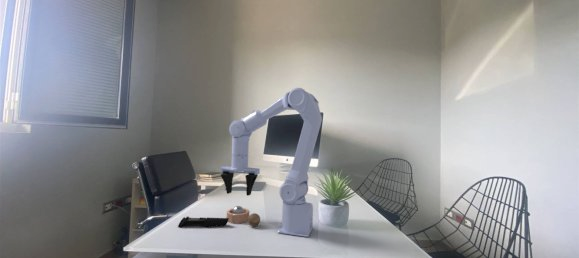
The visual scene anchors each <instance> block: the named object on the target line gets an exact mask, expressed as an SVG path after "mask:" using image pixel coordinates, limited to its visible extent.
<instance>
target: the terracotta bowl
mask: <svg viewBox="0 0 579 258" xmlns="http://www.w3.org/2000/svg"><path fill="white" fill-rule="evenodd" d="M242 208H243V209H244V213H242V214H232V211H233V209H234V208H230V209H228V210H226V217H225V218H229V220H228V222H227V223H230V224H242V223H246V222H248V218H249V216H250V212H251V211H250V210H249V208H244V207H242Z"/></svg>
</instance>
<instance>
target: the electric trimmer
mask: <svg viewBox="0 0 579 258" xmlns="http://www.w3.org/2000/svg"><path fill="white" fill-rule="evenodd" d="M228 220H229V218H226V217H190V216H184V217H182V219H181V220H180V222H179V223H178V225H177V228H180V229H181V228H183V227H188V228H189V227H204V228H214V227H226V225H227V224H228V223H229V222H228Z"/></svg>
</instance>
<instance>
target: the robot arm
mask: <svg viewBox="0 0 579 258" xmlns="http://www.w3.org/2000/svg"><path fill="white" fill-rule="evenodd" d="M319 103H320V102H319V101H318V100H317V98H316V97H315V96H314V94H312V93H309V92H307V91H306V90H305V89H304V88H302V87H295V88H293V89H291V90H290V91H287V92H286V93H285V94H284V95H282V97H280V98H279V99H278V100H276V101H275V102H273V103H272V104H270V105H269V106H267V107H266V108H264V109H262V110H252V111H251V113H250V114H249V115H247V116H245V117H242V118H241V119H240V120H233V121H232V122H231V123H230V125H229V128H228V131H229V134H230V136H231V137H232V139H231V142H232V143H231V166H220V168H219V173H221V174H220V177H221V179H222V181H223V184H224V186H225V191H226V194H227V195H229V194H231V193H232V190H233V180H234V175H235V174H244V176H245V184H246V188H245V189H246V193H245V194H246V196H248V197H249V196H251V195H252V191H253V187H254V185H255V182H256V179H257V178H258V176H259V175H260V171H261V169H260V168H257V167H256V168H255V167H249V144H250V143H249V142H250V137H251V136H252V134H253V132H256V131H257V130H259V129H260V128H262V127H264V126H265V125H267V122H268V120H269V119H271V118H273V117H275V116H278V115H279V114H281V113H282V112H283V113H284V112H285V111H289V110H290V111H292V110H293V111H296V112H298V114H299V115H300V117H301V119H302V120H303V125H302V128H301V132H300V136H299V140H298V143H297V146H296V150H295V155H294V156H293V157H294V158H293V162H292V164H291V169H290V171H289V172H288V174H287V176H286V177H285V178H284V179H285V180H284V181H283V183H282V184H281V185H280V187H279V197H280V198H281V200H282V214H281V215H282V219H281V222H282V223H281V226H280V227H279V229H278V230H277V233H278V234H284V235H289V236H290V235H292V236H298V237H306V238H309V236H310V235H311V233H312V230H313V228H314V227H313V221H314V217H313V215H314V207H313V205H314V204H313V203H311V202H307V201H306V195H307V194H308V192H309V184H308V181H309V175H308V173H309V168H310V164H311V161H312V157H313V154H314V150H315V147H316V143H317V139H318V135H319V131H320V130H321V129H320V128H321V126H322V125H321V124H322V122H323V118H322V117H323V116H322V113H321V110H320V106H319Z"/></svg>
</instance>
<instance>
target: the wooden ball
mask: <svg viewBox="0 0 579 258" xmlns="http://www.w3.org/2000/svg"><path fill="white" fill-rule="evenodd" d="M247 223H248V225H250V226H251V227H253V228H254V227H258V225H260V223H261V217H260V214H258V213H255V212H253V213H251V214H249V218H248V221H247Z"/></svg>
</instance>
